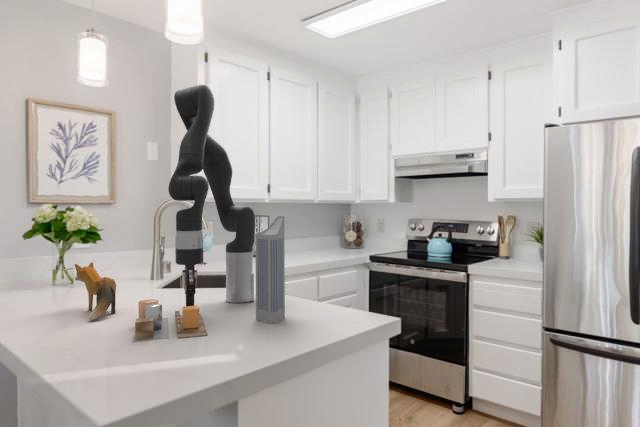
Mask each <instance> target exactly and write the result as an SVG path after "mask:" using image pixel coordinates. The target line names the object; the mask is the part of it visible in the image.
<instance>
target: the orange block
mask: <svg viewBox="0 0 640 427" xmlns="http://www.w3.org/2000/svg"><path fill="white" fill-rule="evenodd" d="M181 308H182V314H181V315H182V324H183V329H186V328H197V327H199V313H200V306H199V305H194V306H186V305H185V306H182V307H181Z"/></svg>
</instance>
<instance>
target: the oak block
mask: <svg viewBox="0 0 640 427" xmlns="http://www.w3.org/2000/svg"><path fill="white" fill-rule="evenodd" d="M134 323H135V324H134V328H135V330H134V333H135V339H142V338H153V336H154V317H149V318H139V317H138V318H135V321H134Z"/></svg>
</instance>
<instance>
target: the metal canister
mask: <svg viewBox="0 0 640 427" xmlns="http://www.w3.org/2000/svg"><path fill="white" fill-rule="evenodd" d="M149 317H154V330H159V329H162V318H163V304H162V303H158V304H149V305H146V318H149Z"/></svg>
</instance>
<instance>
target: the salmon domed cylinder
mask: <svg viewBox="0 0 640 427" xmlns="http://www.w3.org/2000/svg"><path fill="white" fill-rule="evenodd" d="M149 304H159V300H158V299H154V298H153V299H143V300H140V301H139V300H138V318H146V305H149Z"/></svg>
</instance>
